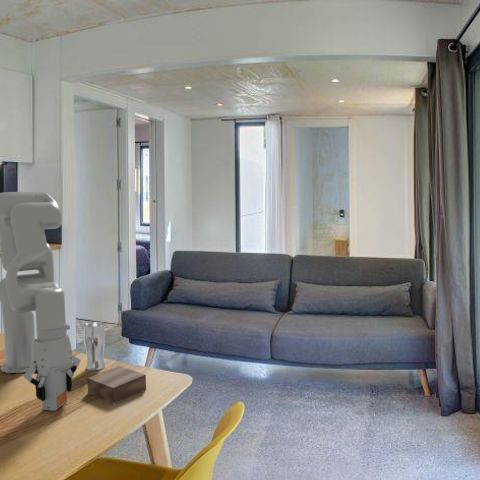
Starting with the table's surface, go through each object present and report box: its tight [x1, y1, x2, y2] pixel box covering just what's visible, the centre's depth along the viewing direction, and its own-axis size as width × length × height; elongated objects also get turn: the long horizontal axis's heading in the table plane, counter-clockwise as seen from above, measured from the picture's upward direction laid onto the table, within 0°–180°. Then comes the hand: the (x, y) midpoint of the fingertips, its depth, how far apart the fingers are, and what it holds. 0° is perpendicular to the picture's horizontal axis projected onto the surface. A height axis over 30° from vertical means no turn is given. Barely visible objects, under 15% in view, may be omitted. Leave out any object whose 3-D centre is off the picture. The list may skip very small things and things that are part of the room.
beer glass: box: [83, 321, 106, 372], centre depth 163 cm, size 7×7×15 cm
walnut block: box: [86, 365, 147, 405], centre depth 144 cm, size 12×12×5 cm
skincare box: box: [41, 367, 68, 412], centre depth 134 cm, size 6×4×12 cm
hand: (54, 394), depth 135 cm, fingers closed on skincare box, 7 cm apart
